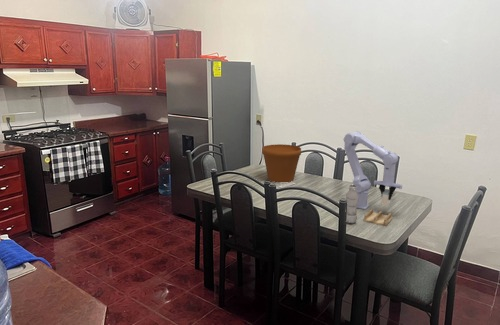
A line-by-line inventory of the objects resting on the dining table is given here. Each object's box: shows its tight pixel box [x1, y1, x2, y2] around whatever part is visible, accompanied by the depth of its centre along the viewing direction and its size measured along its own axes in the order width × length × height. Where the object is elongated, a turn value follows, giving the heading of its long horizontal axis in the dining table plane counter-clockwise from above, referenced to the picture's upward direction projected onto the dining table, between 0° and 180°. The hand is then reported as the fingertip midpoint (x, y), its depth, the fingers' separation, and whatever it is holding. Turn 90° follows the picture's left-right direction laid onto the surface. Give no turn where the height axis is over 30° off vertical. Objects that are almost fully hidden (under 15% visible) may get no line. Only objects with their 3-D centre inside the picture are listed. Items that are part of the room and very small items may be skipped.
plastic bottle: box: [345, 184, 359, 224], centre depth 187 cm, size 6×7×20 cm
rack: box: [362, 208, 393, 227], centre depth 193 cm, size 12×13×3 cm
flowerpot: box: [261, 143, 302, 183], centre depth 264 cm, size 28×28×24 cm
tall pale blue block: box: [381, 188, 391, 207], centre depth 200 cm, size 3×7×7 cm, turn 146°
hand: (386, 198), depth 200 cm, fingers closed on tall pale blue block, 3 cm apart
